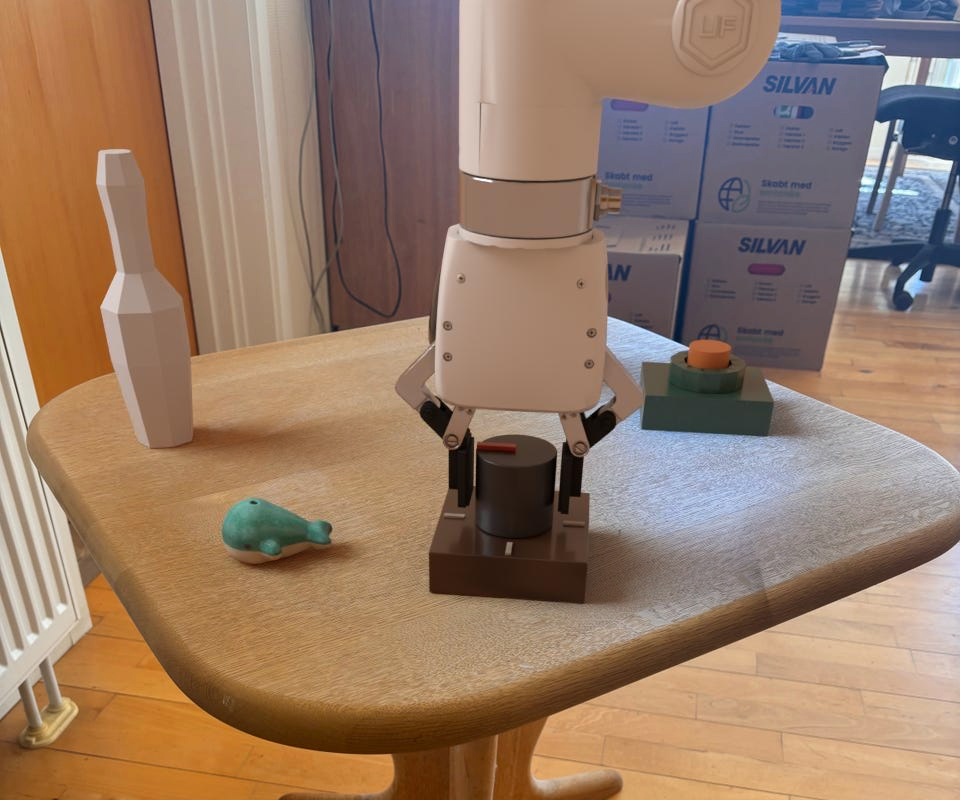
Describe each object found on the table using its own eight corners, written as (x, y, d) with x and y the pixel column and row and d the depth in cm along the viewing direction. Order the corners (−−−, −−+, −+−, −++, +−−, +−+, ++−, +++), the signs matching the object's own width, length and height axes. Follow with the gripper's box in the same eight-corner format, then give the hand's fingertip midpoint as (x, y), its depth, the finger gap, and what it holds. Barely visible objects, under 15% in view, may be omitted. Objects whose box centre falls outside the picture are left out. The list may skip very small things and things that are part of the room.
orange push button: (725, 359, 88) (728, 340, 87) (730, 373, 85) (733, 353, 84) (685, 357, 88) (688, 338, 87) (688, 371, 85) (691, 351, 84)
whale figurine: (232, 532, 69) (225, 483, 67) (336, 530, 69) (332, 482, 67) (218, 573, 64) (210, 522, 62) (330, 572, 65) (325, 521, 62)
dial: (554, 504, 67) (559, 431, 64) (551, 541, 62) (555, 464, 59) (479, 500, 67) (480, 427, 64) (470, 535, 63) (471, 459, 60)
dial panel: (586, 530, 70) (590, 490, 68) (584, 603, 62) (588, 560, 60) (449, 521, 71) (449, 481, 69) (429, 592, 63) (428, 549, 61)
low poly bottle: (136, 457, 79) (76, 160, 67) (120, 430, 84) (61, 147, 71) (213, 443, 82) (169, 155, 69) (193, 418, 86) (149, 143, 74)
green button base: (754, 400, 92) (764, 348, 89) (767, 437, 85) (778, 381, 82) (638, 394, 93) (644, 342, 90) (641, 430, 86) (647, 374, 83)
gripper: (679, 200, 56) (644, 485, 66) (385, 189, 57) (395, 470, 68) (688, 227, 50) (648, 537, 60) (359, 214, 51) (374, 520, 61)
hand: (514, 499), depth 64 cm, fingers open, 5 cm apart
